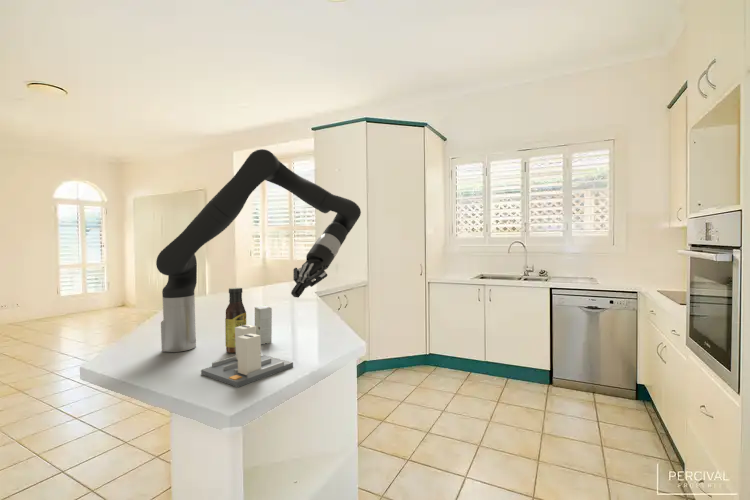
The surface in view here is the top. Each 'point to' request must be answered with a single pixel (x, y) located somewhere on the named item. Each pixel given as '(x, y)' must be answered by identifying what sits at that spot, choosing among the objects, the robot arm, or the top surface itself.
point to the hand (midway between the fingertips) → (294, 295)
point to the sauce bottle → (234, 317)
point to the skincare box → (264, 323)
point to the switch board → (229, 374)
